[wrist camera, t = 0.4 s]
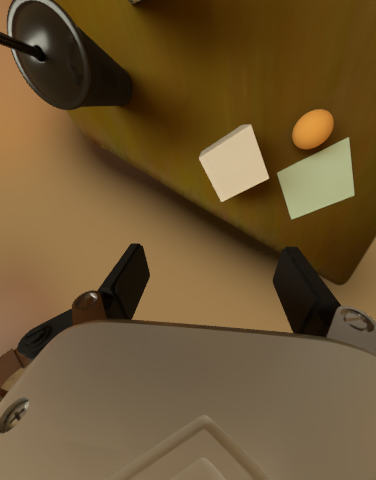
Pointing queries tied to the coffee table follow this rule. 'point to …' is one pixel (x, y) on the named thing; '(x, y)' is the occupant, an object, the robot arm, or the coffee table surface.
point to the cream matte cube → (234, 163)
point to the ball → (312, 129)
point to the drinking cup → (62, 58)
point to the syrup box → (134, 1)
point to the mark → (318, 180)
